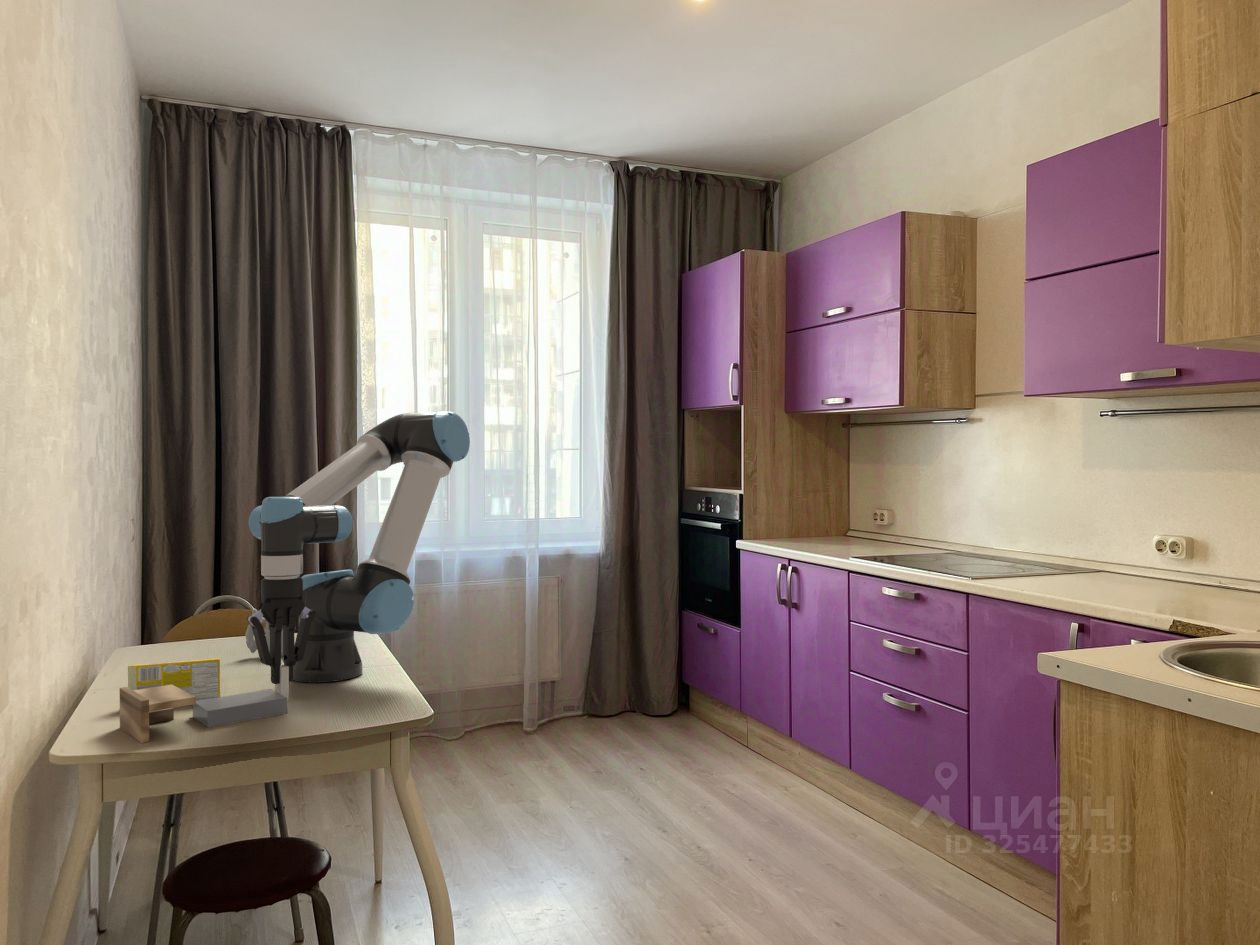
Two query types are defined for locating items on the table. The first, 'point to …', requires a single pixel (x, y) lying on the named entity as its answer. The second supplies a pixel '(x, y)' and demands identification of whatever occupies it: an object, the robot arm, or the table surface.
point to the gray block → (239, 707)
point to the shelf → (149, 708)
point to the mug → (251, 640)
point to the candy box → (179, 676)
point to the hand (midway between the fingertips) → (282, 699)
